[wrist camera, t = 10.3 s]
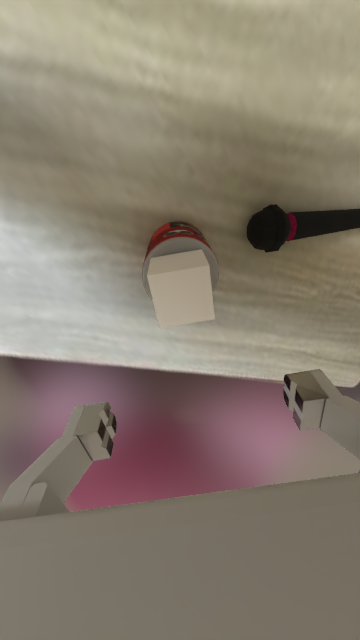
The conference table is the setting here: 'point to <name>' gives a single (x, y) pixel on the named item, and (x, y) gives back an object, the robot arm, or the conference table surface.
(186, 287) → the cream cube
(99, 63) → the conference table surface
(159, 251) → the canned food
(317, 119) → the conference table surface
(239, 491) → the robot arm
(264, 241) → the microphone
